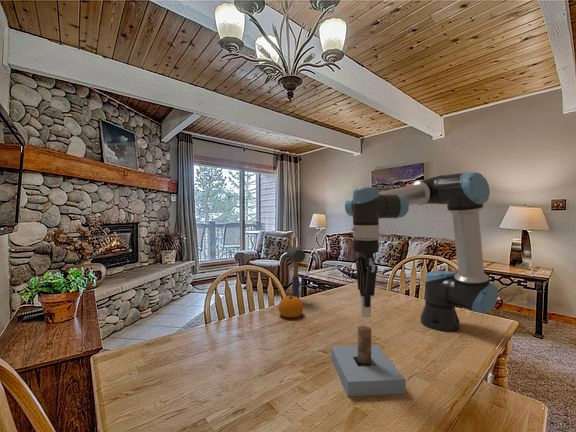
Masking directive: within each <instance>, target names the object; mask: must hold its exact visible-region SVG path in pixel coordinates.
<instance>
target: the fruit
mask: <svg viewBox="0 0 576 432" xmlns="http://www.w3.org/2000/svg"><path fill="white" fill-rule="evenodd" d="M278 311H279V313H280V315H281V316H283V317H284V318H287V319H288V318H289V319H294V318H298V317H300V316H302V314H303V311H304V304H303V302H302V300H301V299H300V297H299V298H298V297H295V296H293V294H290V295H288V296H285V297H283V298H282V299H281V300H280V302H279V303H278Z"/></svg>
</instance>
